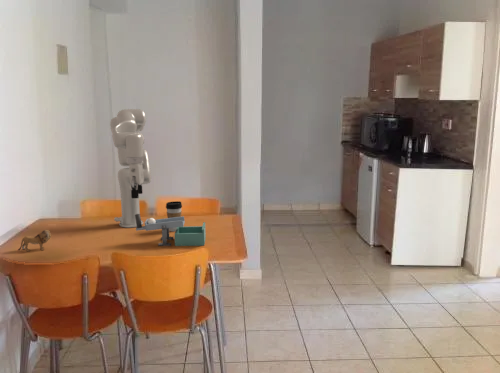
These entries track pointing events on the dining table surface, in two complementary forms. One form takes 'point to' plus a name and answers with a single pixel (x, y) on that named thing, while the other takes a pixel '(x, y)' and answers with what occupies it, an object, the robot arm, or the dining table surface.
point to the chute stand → (165, 237)
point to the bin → (190, 236)
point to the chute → (159, 223)
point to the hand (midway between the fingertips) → (137, 195)
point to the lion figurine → (36, 240)
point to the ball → (151, 221)
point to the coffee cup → (173, 211)
